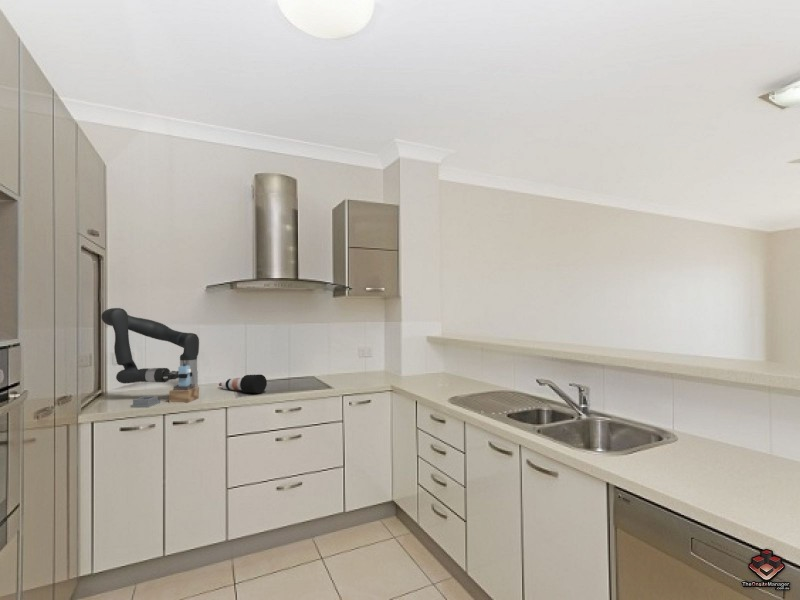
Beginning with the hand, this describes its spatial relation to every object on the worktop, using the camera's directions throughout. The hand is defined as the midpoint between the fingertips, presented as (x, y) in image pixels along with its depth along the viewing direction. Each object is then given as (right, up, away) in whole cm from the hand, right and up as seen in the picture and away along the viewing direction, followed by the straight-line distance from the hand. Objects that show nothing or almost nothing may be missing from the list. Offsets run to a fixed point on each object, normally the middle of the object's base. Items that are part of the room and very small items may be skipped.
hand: (189, 375), depth 212 cm
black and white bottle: (+18, -14, +22) cm, 31 cm away
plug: (-3, -7, 0) cm, 8 cm away
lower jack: (-17, -13, -9) cm, 24 cm away
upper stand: (-3, -13, 0) cm, 13 cm away
